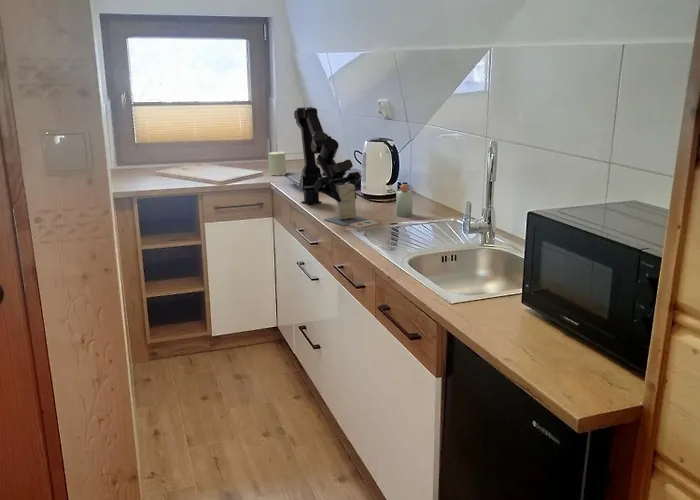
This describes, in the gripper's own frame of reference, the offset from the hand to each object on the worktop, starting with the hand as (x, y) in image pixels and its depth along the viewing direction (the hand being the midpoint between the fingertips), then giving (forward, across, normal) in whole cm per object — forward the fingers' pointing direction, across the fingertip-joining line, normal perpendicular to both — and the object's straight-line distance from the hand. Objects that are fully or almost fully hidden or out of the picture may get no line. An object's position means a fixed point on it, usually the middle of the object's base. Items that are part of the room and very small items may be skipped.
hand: (347, 200), depth 229 cm
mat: (+5, 0, +6) cm, 8 cm away
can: (-68, +36, +82) cm, 112 cm away
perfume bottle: (+11, +21, 0) cm, 24 cm away
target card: (+11, +1, 0) cm, 11 cm away
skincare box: (+4, 0, +6) cm, 7 cm away
